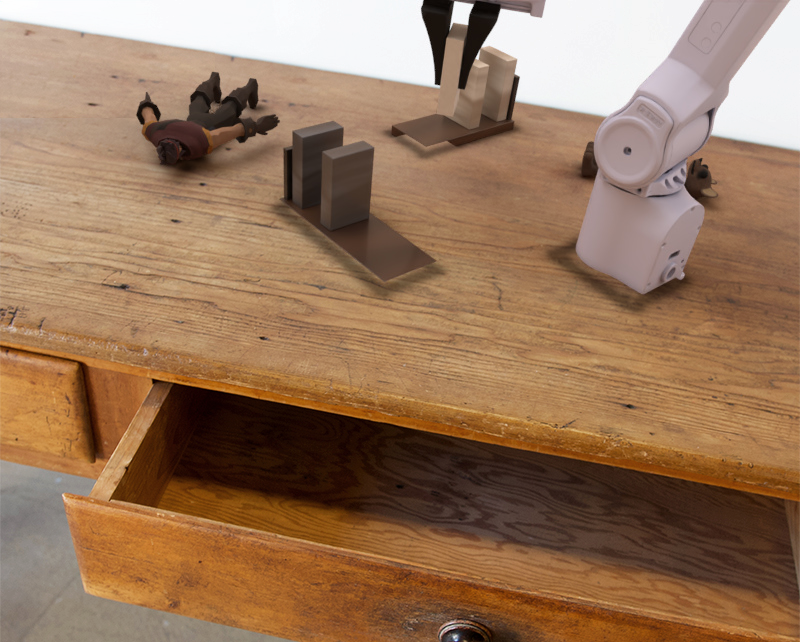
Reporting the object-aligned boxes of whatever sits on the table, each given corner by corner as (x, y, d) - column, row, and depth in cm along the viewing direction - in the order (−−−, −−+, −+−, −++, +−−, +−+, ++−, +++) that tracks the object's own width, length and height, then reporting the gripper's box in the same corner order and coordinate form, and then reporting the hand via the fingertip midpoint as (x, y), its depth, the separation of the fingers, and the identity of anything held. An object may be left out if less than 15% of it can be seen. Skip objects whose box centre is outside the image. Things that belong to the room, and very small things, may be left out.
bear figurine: (597, 113, 89) (727, 128, 86) (590, 148, 92) (717, 165, 89) (573, 178, 76) (726, 199, 73) (567, 217, 79) (713, 239, 76)
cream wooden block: (458, 99, 76) (469, 25, 72) (452, 116, 73) (464, 40, 68) (443, 96, 76) (453, 22, 72) (436, 114, 73) (446, 37, 68)
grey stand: (435, 270, 68) (448, 187, 62) (383, 291, 65) (391, 206, 59) (329, 192, 76) (332, 113, 70) (278, 207, 73) (277, 126, 67)
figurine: (174, 101, 90) (91, 166, 75) (171, 63, 87) (84, 123, 72) (297, 123, 89) (238, 193, 73) (298, 85, 86) (237, 150, 71)
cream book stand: (513, 128, 91) (526, 60, 86) (425, 154, 84) (434, 81, 78) (478, 110, 94) (489, 42, 89) (390, 133, 87) (397, 61, 82)
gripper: (379, -83, 61) (368, 86, 71) (558, -55, 61) (522, 112, 70) (395, -100, 67) (383, 60, 76) (560, -75, 66) (527, 84, 75)
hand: (450, 83), depth 73 cm, fingers closed on cream wooden block, 2 cm apart
